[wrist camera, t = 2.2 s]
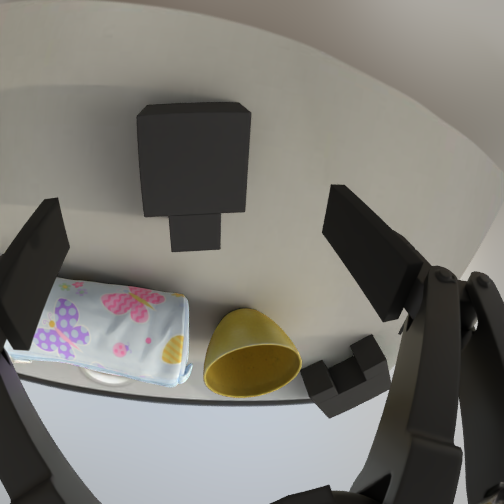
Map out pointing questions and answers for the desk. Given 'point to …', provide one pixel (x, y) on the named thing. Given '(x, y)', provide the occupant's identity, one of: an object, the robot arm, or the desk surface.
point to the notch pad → (348, 379)
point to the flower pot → (249, 356)
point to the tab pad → (193, 167)
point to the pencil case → (113, 331)
